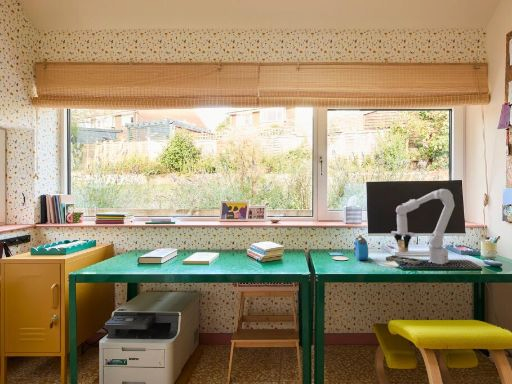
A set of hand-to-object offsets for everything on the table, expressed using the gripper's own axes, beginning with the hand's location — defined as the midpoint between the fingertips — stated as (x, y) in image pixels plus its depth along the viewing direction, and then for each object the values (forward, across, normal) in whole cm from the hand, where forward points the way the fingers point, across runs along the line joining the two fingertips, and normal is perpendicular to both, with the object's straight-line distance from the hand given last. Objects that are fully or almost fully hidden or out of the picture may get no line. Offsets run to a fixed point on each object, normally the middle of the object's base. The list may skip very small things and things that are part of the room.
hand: (403, 247), depth 217 cm
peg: (+3, 0, 0) cm, 3 cm away
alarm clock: (+9, -22, -12) cm, 27 cm away
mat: (+9, 0, -9) cm, 13 cm away
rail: (+9, 0, 0) cm, 9 cm away
